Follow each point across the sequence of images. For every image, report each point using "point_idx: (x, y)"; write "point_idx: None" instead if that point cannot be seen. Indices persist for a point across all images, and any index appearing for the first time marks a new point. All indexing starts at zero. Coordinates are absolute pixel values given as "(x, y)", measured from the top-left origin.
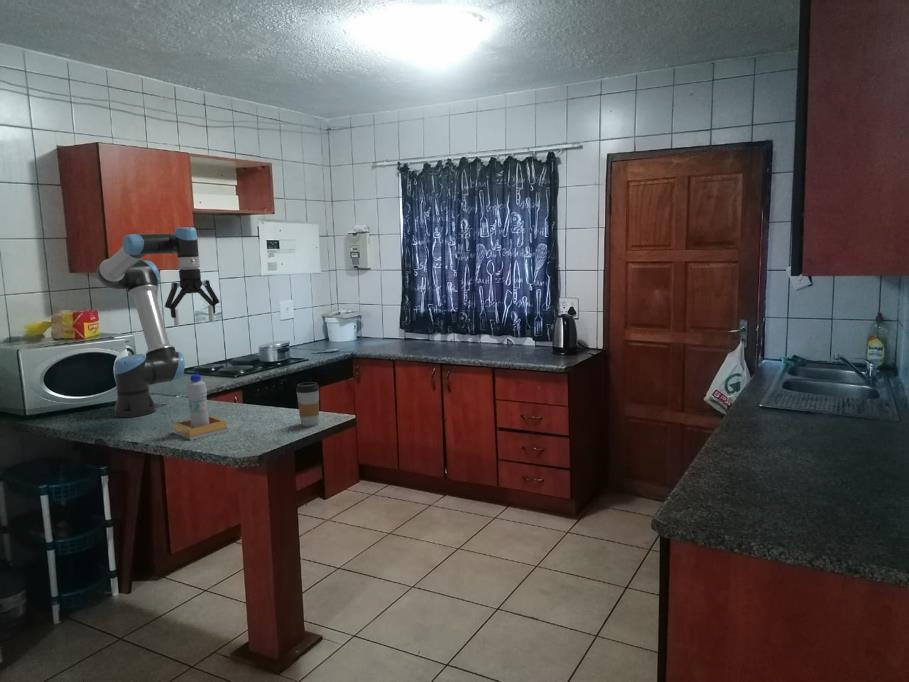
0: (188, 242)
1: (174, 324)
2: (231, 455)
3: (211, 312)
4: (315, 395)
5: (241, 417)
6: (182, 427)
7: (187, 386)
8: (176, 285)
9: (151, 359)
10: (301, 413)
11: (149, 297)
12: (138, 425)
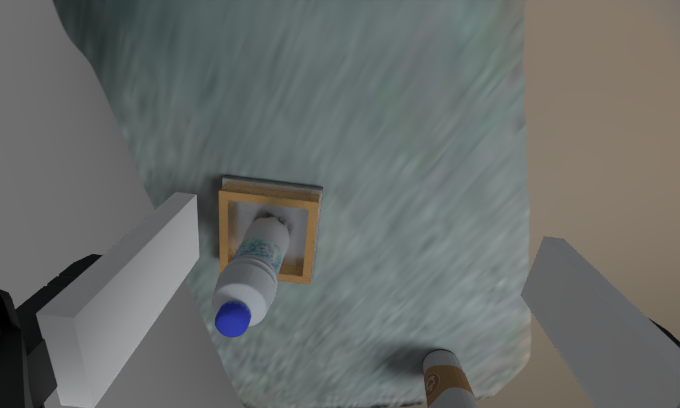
0: None
1: (168, 203)
2: (234, 385)
3: (575, 377)
4: None
5: (408, 199)
6: (220, 239)
7: (213, 294)
8: None
9: None
10: (425, 385)
11: None
12: (186, 3)
